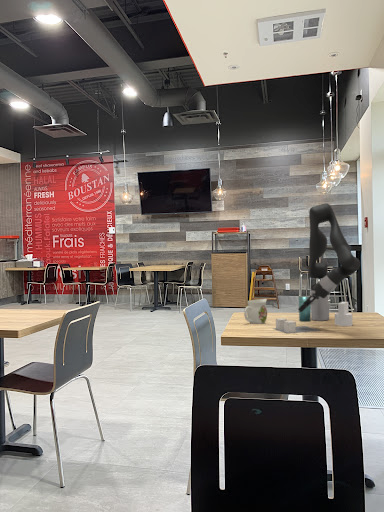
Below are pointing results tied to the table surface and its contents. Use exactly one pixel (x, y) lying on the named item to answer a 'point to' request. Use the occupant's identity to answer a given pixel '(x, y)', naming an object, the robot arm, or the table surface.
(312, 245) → the robot arm
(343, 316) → the base with upright slab
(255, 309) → the pitcher
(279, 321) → the cream cube
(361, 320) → the table surface
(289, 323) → the cream cube
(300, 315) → the teal glass cylinder
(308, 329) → the slate board
